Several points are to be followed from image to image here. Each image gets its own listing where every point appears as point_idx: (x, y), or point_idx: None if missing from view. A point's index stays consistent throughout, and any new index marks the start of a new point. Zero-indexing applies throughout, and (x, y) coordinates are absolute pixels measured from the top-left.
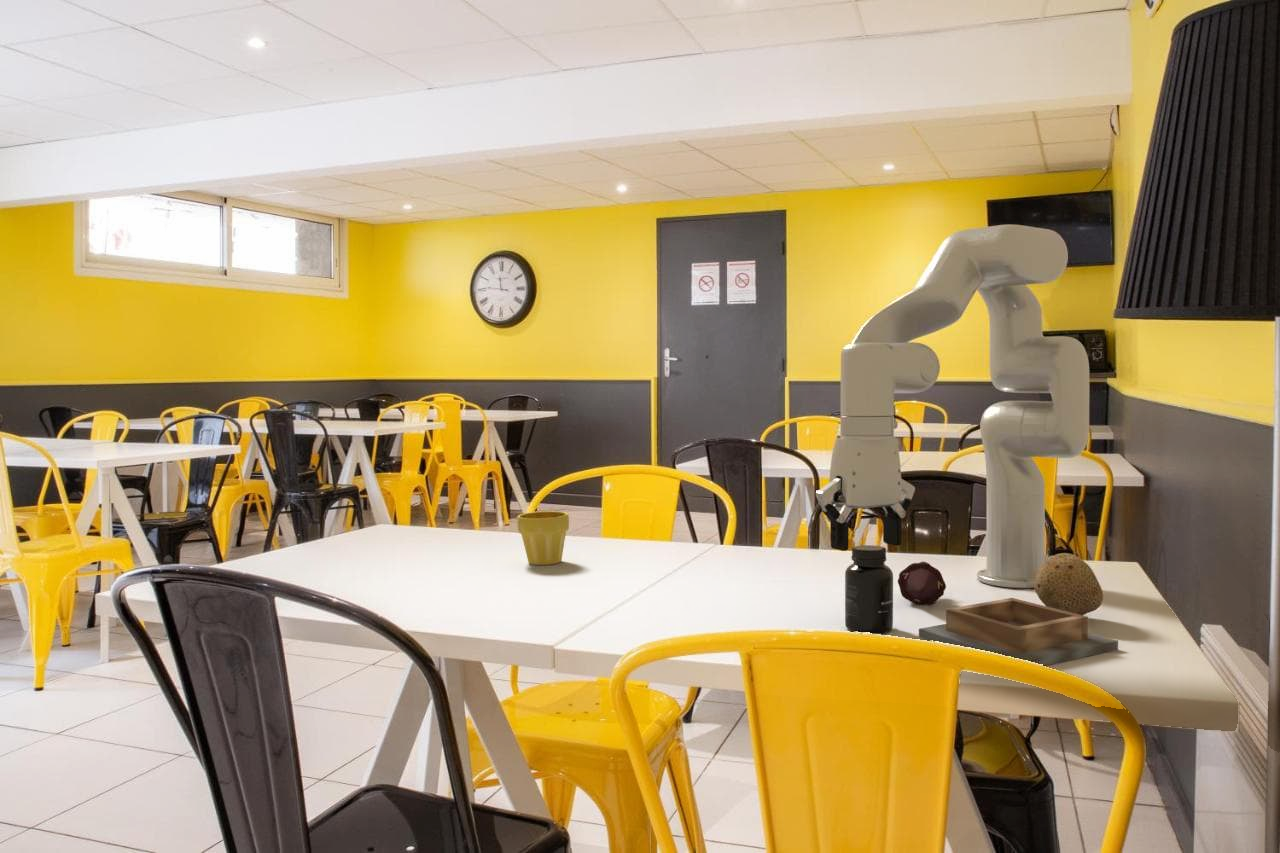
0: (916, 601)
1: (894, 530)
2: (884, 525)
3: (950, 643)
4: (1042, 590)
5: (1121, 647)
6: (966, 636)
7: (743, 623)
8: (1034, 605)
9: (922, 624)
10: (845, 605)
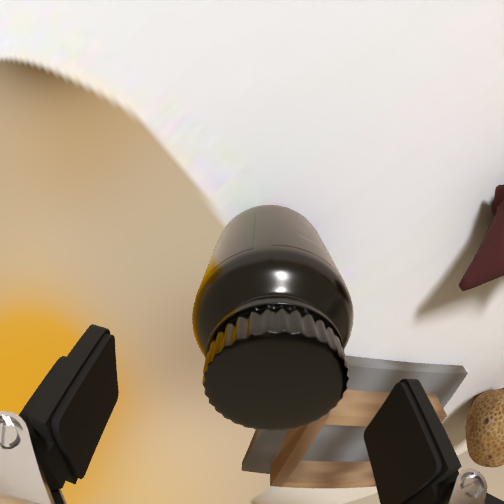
0: (495, 212)
1: (381, 469)
2: (420, 442)
3: None
4: (479, 422)
5: None
6: None
7: (106, 42)
8: None
9: (374, 303)
10: (222, 238)
